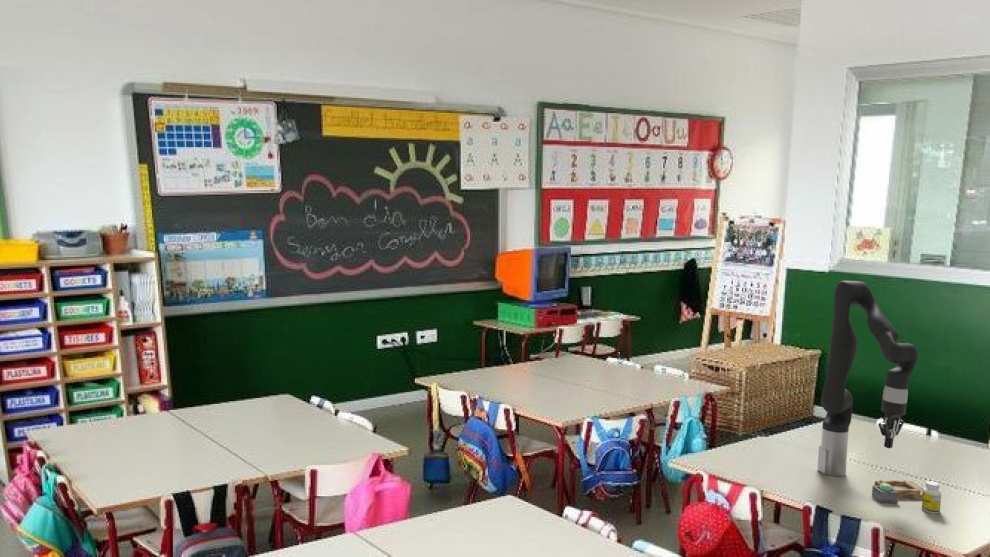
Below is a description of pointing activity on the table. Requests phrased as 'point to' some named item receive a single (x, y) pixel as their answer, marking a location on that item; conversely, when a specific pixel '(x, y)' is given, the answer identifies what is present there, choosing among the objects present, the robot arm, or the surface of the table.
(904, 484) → the pallet board
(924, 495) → the supplement bottle
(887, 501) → the button box
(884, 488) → the button
